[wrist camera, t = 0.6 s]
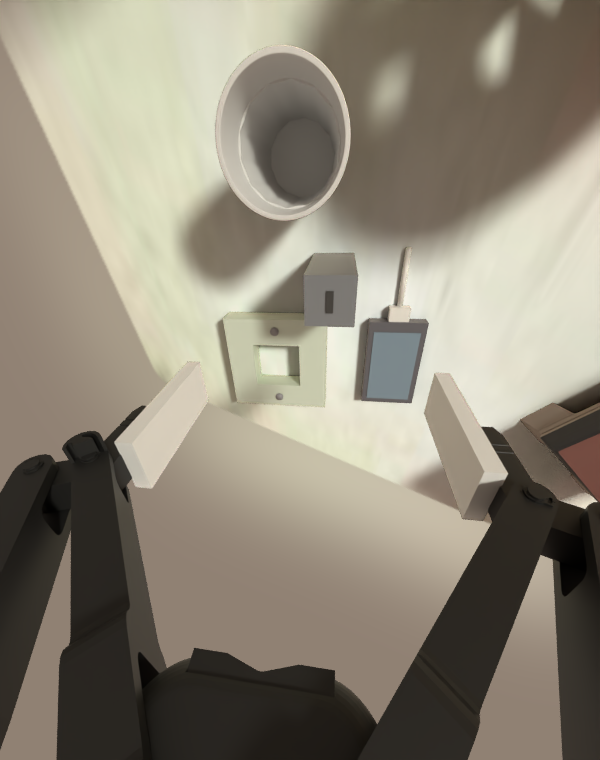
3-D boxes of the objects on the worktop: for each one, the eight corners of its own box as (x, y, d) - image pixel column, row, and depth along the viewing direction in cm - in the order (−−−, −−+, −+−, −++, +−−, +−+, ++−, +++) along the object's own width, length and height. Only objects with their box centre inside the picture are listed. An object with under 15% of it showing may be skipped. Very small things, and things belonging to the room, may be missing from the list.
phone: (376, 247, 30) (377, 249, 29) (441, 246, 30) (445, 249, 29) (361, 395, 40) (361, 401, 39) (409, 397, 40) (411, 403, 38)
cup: (313, 228, 30) (298, 246, 20) (246, 175, 28) (194, 166, 18) (366, 146, 26) (380, 117, 16) (292, 78, 24) (257, -1, 14)
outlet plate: (229, 311, 36) (222, 319, 34) (327, 313, 35) (326, 321, 33) (242, 392, 43) (236, 403, 40) (325, 396, 41) (324, 408, 39)
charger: (314, 253, 31) (303, 275, 23) (354, 252, 31) (358, 275, 22) (314, 292, 34) (304, 326, 25) (351, 293, 33) (354, 327, 25)
